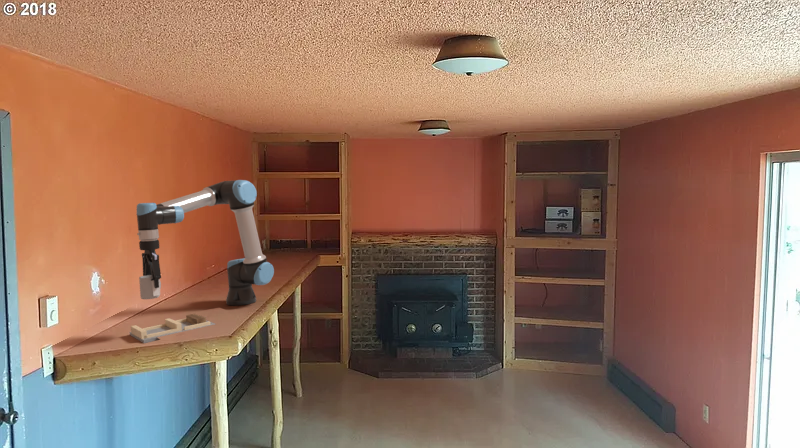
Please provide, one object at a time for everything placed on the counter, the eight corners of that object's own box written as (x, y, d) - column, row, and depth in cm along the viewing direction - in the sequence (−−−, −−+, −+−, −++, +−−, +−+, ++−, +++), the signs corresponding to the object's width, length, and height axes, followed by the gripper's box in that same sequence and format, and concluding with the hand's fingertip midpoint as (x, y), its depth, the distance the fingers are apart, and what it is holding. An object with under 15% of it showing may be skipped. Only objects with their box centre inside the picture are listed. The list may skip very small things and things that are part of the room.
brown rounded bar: (195, 319, 239) (194, 313, 239) (206, 324, 230) (206, 317, 230) (186, 321, 236) (186, 315, 236) (197, 326, 228) (197, 319, 227)
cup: (136, 299, 217) (135, 277, 216) (153, 294, 227) (152, 273, 226) (151, 299, 215) (150, 278, 215) (167, 294, 225) (166, 273, 224)
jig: (199, 320, 243) (198, 311, 243) (216, 326, 230) (215, 317, 230) (129, 334, 223) (128, 325, 223) (143, 343, 210) (143, 332, 209)
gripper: (131, 239, 224) (136, 292, 225) (147, 242, 209) (152, 299, 211) (150, 237, 229) (154, 289, 231) (167, 240, 214) (171, 295, 216)
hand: (153, 294), depth 221 cm, fingers closed on cup, 7 cm apart
